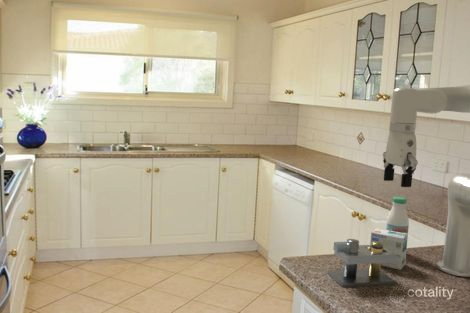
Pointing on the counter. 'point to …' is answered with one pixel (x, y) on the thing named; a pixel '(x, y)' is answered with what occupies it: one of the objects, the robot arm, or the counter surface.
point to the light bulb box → (392, 245)
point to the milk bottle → (398, 216)
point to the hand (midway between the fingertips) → (396, 183)
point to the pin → (375, 267)
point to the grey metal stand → (360, 255)
